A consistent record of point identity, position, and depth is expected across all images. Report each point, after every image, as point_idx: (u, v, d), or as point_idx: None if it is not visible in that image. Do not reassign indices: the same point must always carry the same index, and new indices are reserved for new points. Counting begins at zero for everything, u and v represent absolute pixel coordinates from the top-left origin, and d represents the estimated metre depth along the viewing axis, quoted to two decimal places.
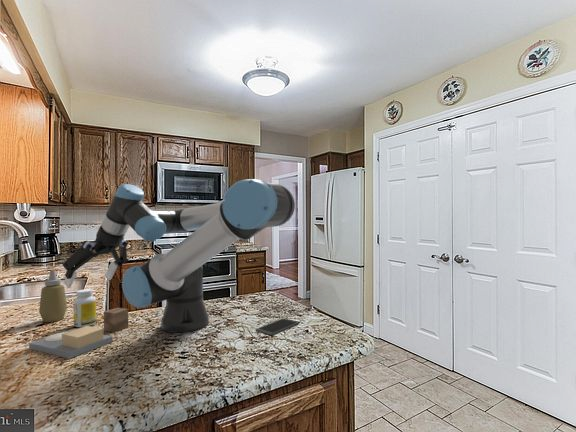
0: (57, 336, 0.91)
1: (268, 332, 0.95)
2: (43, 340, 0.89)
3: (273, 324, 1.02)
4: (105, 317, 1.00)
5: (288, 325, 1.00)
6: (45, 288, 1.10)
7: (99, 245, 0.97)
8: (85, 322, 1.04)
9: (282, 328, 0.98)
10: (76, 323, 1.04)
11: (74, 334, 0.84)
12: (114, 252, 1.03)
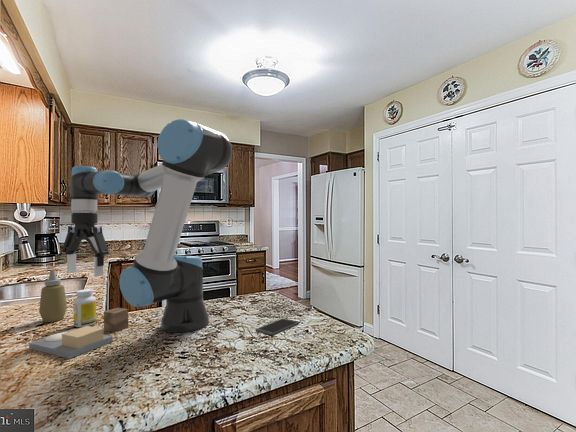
0: (57, 336, 0.91)
1: (268, 332, 0.95)
2: (43, 340, 0.89)
3: (273, 324, 1.02)
4: (105, 317, 1.00)
5: (288, 325, 1.00)
6: (45, 288, 1.10)
7: (75, 227, 1.07)
8: (85, 322, 1.04)
9: (282, 328, 0.98)
10: (76, 323, 1.04)
11: (74, 334, 0.84)
12: (85, 237, 1.04)
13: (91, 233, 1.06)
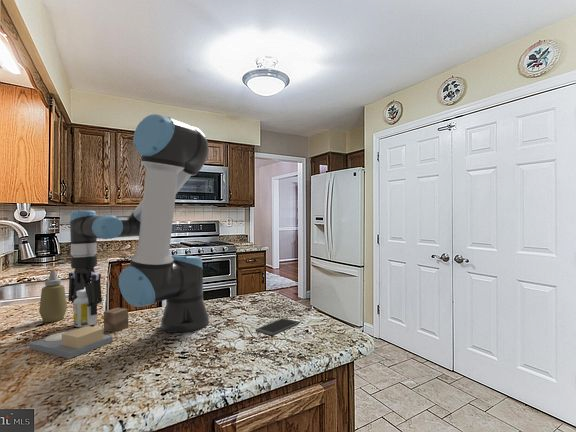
0: (57, 336, 0.91)
1: (268, 332, 0.95)
2: (43, 340, 0.89)
3: (273, 324, 1.02)
4: (105, 317, 1.00)
5: (288, 325, 1.00)
6: (45, 288, 1.10)
7: (75, 271, 1.07)
8: (85, 322, 1.04)
9: (282, 328, 0.98)
10: (76, 323, 1.04)
11: (74, 334, 0.84)
12: (83, 282, 1.04)
13: (90, 278, 1.06)
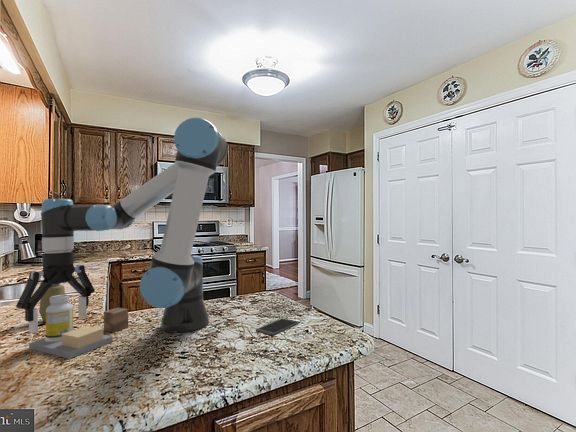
0: None
1: (269, 332, 0.94)
2: (43, 340, 0.89)
3: (273, 324, 1.01)
4: (105, 317, 1.00)
5: (288, 325, 1.00)
6: None
7: (49, 271, 0.88)
8: None
9: (282, 328, 0.98)
10: None
11: (74, 334, 0.84)
12: (72, 278, 0.93)
13: None
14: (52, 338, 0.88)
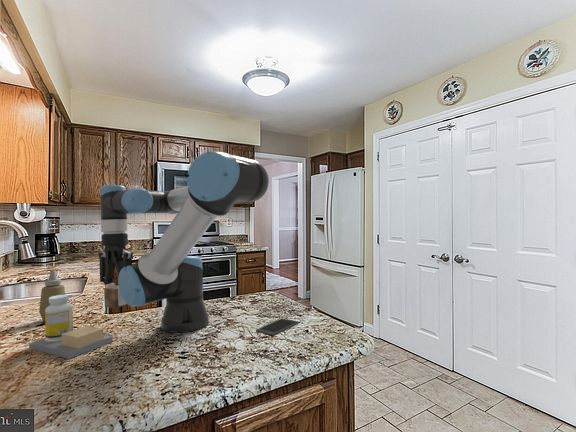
0: None
1: (269, 332, 0.94)
2: (43, 340, 0.89)
3: (273, 324, 1.01)
4: (106, 293, 1.00)
5: (288, 325, 1.00)
6: (45, 288, 1.10)
7: (105, 249, 1.02)
8: None
9: (283, 328, 0.98)
10: None
11: (74, 334, 0.84)
12: (114, 260, 1.00)
13: None
14: (52, 338, 0.88)
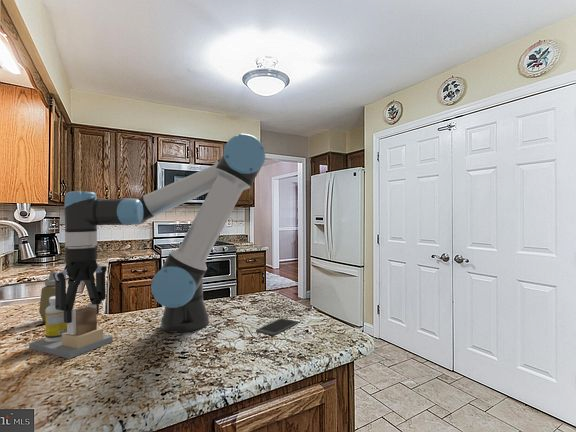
0: None
1: (270, 332, 0.94)
2: (43, 340, 0.89)
3: (273, 324, 1.01)
4: (81, 318, 0.85)
5: (288, 325, 1.01)
6: (45, 288, 1.10)
7: (71, 268, 0.84)
8: None
9: (283, 328, 0.98)
10: None
11: None
12: (92, 277, 0.88)
13: None
14: (52, 338, 0.88)
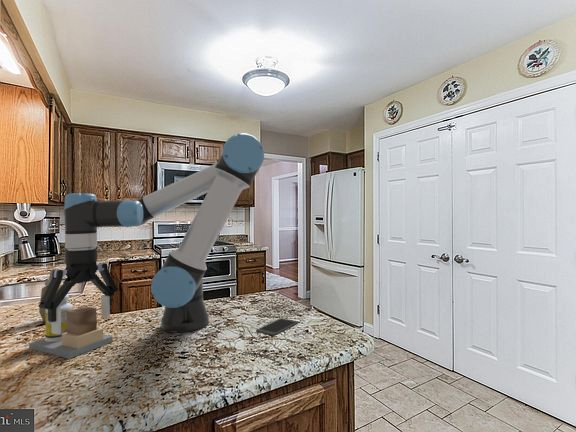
0: None
1: (270, 332, 0.94)
2: (43, 340, 0.89)
3: (273, 324, 1.01)
4: (81, 318, 0.85)
5: (288, 325, 1.01)
6: (45, 288, 1.10)
7: (72, 269, 0.84)
8: None
9: (283, 328, 0.98)
10: None
11: None
12: (95, 277, 0.89)
13: None
14: (52, 338, 0.88)
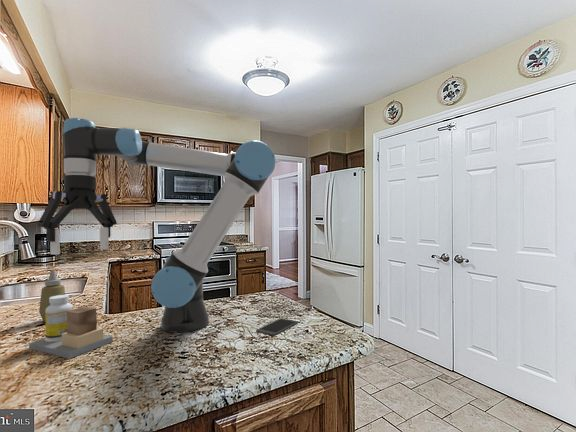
0: None
1: (270, 332, 0.94)
2: (43, 340, 0.89)
3: (273, 324, 1.01)
4: (81, 318, 0.85)
5: (288, 325, 1.01)
6: (45, 288, 1.10)
7: (71, 193, 0.84)
8: None
9: (283, 328, 0.98)
10: None
11: None
12: (94, 205, 0.89)
13: None
14: (52, 338, 0.88)
